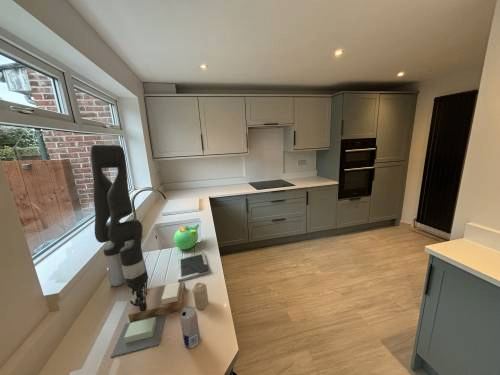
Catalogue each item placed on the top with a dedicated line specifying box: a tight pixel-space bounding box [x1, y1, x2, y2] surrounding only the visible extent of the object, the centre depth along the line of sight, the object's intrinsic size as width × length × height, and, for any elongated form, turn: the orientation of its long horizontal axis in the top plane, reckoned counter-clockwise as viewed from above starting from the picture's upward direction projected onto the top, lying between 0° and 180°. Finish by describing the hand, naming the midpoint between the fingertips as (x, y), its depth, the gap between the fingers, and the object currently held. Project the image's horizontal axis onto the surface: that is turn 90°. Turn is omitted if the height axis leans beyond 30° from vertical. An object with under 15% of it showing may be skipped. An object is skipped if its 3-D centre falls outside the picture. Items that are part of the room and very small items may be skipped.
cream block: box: [162, 281, 180, 304], centre depth 86 cm, size 9×6×2 cm, turn 13°
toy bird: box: [173, 223, 200, 250], centre depth 135 cm, size 18×17×15 cm
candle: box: [192, 282, 209, 311], centre depth 84 cm, size 6×6×10 cm
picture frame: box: [177, 252, 210, 282], centre depth 113 cm, size 16×3×21 cm
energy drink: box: [179, 306, 201, 349], centre depth 68 cm, size 5×5×12 cm
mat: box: [110, 314, 167, 358], centre depth 73 cm, size 15×13×1 cm
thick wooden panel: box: [127, 280, 187, 323], centre depth 87 cm, size 20×14×4 cm
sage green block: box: [124, 317, 156, 343], centre depth 73 cm, size 9×6×2 cm, turn 103°
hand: (143, 309), depth 79 cm, fingers closed
